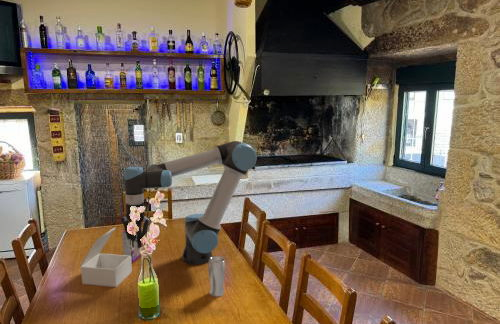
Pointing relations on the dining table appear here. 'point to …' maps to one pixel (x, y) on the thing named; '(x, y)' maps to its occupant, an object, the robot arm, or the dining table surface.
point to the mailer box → (106, 270)
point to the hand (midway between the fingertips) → (137, 254)
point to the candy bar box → (129, 247)
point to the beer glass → (216, 275)
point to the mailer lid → (97, 246)
